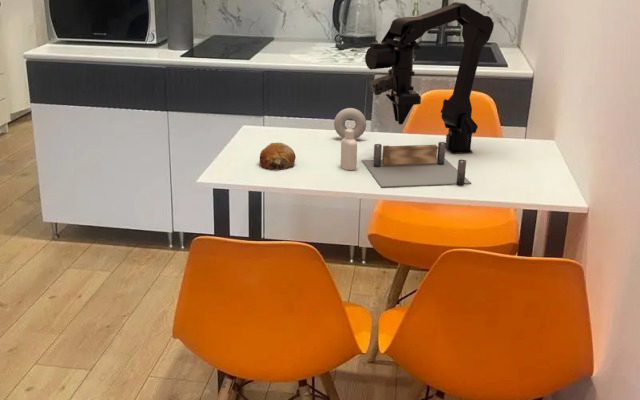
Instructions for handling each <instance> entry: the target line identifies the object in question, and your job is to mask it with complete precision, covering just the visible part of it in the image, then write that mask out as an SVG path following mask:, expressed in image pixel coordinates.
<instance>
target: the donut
mask: <svg viewBox="0 0 640 400" xmlns="http://www.w3.org/2000/svg"><path fill="white" fill-rule="evenodd" d="M348 120H353V121H354V123H355V125H354V127H353V128H352V129H353V130H354V139H355V140H356V139H359V138H360V137H361V136H362V135H364V133H365V131H366V128H367V119H366V116H365V115H364V114H363V112H361V110H359V109H356V108H353V107H347V108H343V109H342V110H340V111H339V112H338V113H336V116H335V118H334V121H333V126H334V127H333V128H334V130H335V133H336V134H337V135H338V136H339V137H341V138H342V139H343V138H345V130H346V129H348V127H347V126H346V121H348Z"/></svg>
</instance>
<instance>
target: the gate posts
mask: <svg viewBox="0 0 640 400" xmlns="http://www.w3.org/2000/svg"><path fill="white" fill-rule="evenodd" d="M437 146H438V149H437V164H438V165H444V159H446V157H445V156H446V148H445V147H446V141H444V142H443V141H439V142H438V143H437ZM382 150H383V146H382V144H380V143H375V144H374V146H373V160H374V162H373V167H381V159H382ZM466 168H467V160H466V159H458V161H457V170H458V171H457V182H456V183H457V185H456V186H459V187H464V186H465V184H464V181H465V177H466Z"/></svg>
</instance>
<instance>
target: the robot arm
mask: <svg viewBox="0 0 640 400" xmlns="http://www.w3.org/2000/svg"><path fill="white" fill-rule="evenodd" d="M454 21H455V22H457V24H459V25H460V26H462V29H461V36H462V41H463V44H464V45H463V50H462V54H461V57H460V63H459V67H458V70H457V74H456V80H455V84H454V87H453V92H452V94H451V96H450V97H449V98H448V99H446V98H444V99H443V102H442V107H441V110H440V113H441V119H442V121H443V123H444V127H445V128H446V129H448V132H447V133H448V134H446V136H445V143H446V147H445V150H446V151H448V152H449V153H451V154H472V153H473V150H472V149H471V146H472V139H473V138H472V137H473V135H472V134H476V133H477V130H478V128H479V127H478V124H477V123H476V122H475V121H474V119H473V118H472V113H473V112H472V111H473V107H472V103H471V102H472V101H471V99H470V98H471V94H472V89H473V85H474V81H475V77H476V74H477V69H478V65H479V61H480V56H481V53H482V50H483V47H484V46H485V45H486V44H487V43H488V42H489V41H490V39H491V36H492V33H493V30H494V25H495V23H494V21H493V19H492V17H490V16H488V15H483V14H482V13H480V12H479V11H477V10H475V9H474V8H472V7H471V6H469V5H468V4H467V3H465V2H464V3H463V2H457V1H455V2H452V3H451V4H449V5H445V6H443V7H441V8H437V9H434V10H432V11H429V12H426V13H423V14H421V15H417V16H404V17H396V18H395V19H393V20H392V21H391V24H390V27H389V29H388V30H387V32H386V34H385V35H384V37H383V38H382V40H381V41H380V42H379V43H377V42H370V43H369V44H370V45H369V48H367V50H366V53H365V55H364V61H365V64H366V66H367V69H369V70H381V69H388V71H387V75H382V76H380V77H377V78H375V79H372V80H369V85H370V88H371V91H372V94H374V95H375V96H380V95H381V94H383V93H386V92H388V93H386V94H385V96H386V97H387V99H389V100H390V102H391V106H392V111H393V116H394V117H393V118H394V120H395V122H397V123H398V125H403V124H404V123H405V121H406V119H407V117H408V115H409V114H410V111H411V110H412V108H413V107H414V105H417V106H418V105H421V104H422V96H420V94H419V93H418V92H417V91H415V90H414V89H415V88H414V86H413V85H412V83H413V81H412V80H413V76H415V73H416V72H415V71H414V70H413V67H414V66H413V65H414V53H415V51H417V50H421V48H422V46H421V45H419V44H418V43H417V41H416V40H419V39H420V38H422V37H423V36H424V34H425V33H427V32H428V31H430V30H433V29H435V28H438V27H441V26H445V25H446V24H449V23H452V22H454Z"/></svg>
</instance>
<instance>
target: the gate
mask: <svg viewBox="0 0 640 400" xmlns="http://www.w3.org/2000/svg"><path fill="white" fill-rule="evenodd" d="M437 155H438V144H415V145H412V144H411V145H383V146H382V159H383V160H382V163H383V165H389V164H417V163H436V158H437Z"/></svg>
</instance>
